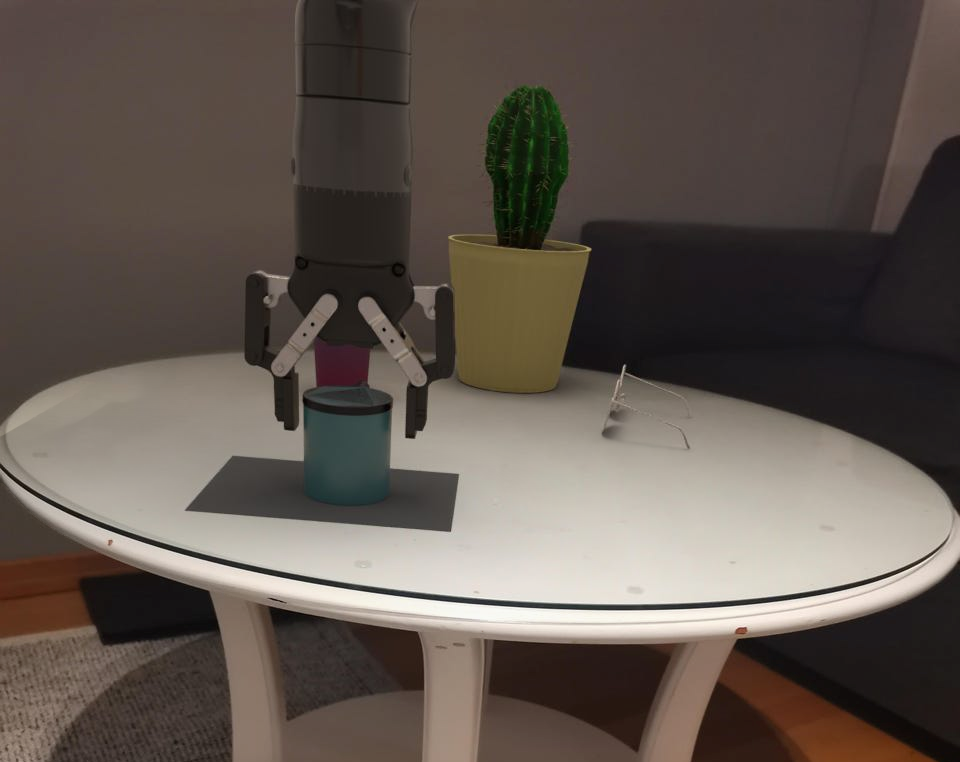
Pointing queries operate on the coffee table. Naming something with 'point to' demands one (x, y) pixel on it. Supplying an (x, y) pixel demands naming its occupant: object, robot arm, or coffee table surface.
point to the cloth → (281, 495)
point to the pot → (347, 444)
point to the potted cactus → (518, 255)
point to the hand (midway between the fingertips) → (351, 432)
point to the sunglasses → (620, 404)
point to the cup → (340, 364)
